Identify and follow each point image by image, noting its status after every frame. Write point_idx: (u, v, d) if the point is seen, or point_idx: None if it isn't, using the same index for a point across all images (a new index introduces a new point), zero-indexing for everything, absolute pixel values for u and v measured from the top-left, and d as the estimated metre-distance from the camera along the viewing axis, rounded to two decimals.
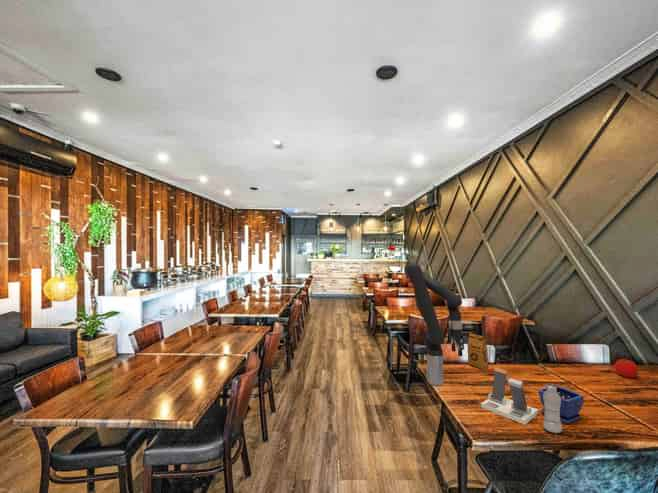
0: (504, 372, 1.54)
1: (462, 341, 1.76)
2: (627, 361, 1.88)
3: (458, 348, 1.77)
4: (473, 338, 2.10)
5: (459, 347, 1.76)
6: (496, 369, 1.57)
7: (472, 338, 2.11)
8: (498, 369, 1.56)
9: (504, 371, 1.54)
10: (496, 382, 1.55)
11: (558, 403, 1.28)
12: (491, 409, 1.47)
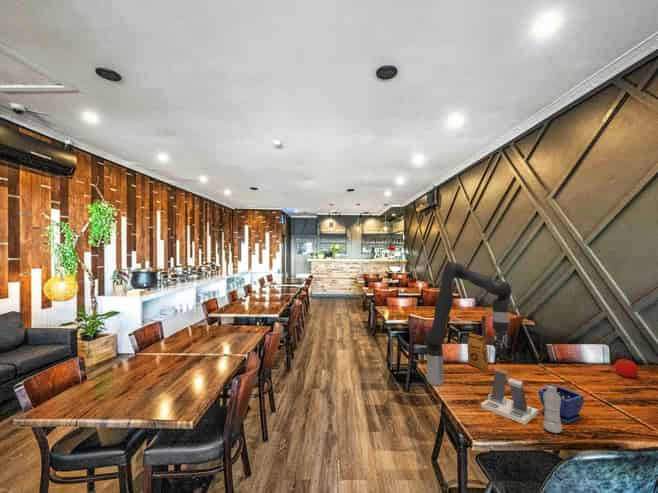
0: (504, 372, 1.54)
1: None
2: (627, 361, 1.88)
3: (506, 344, 1.53)
4: (473, 338, 2.10)
5: (507, 341, 1.54)
6: (496, 369, 1.57)
7: (472, 338, 2.11)
8: (498, 369, 1.56)
9: (504, 371, 1.54)
10: (496, 382, 1.55)
11: (558, 403, 1.28)
12: (491, 409, 1.47)
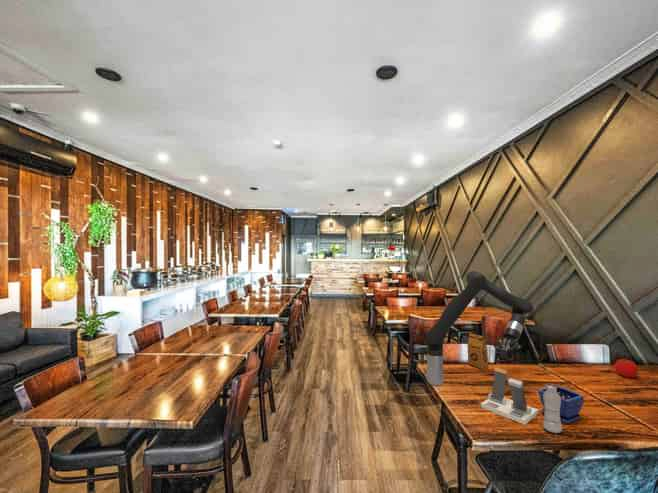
0: (504, 372, 1.54)
1: (497, 342, 1.68)
2: (627, 361, 1.88)
3: None
4: (473, 338, 2.10)
5: None
6: (496, 369, 1.57)
7: (472, 338, 2.11)
8: (498, 369, 1.56)
9: (504, 371, 1.54)
10: (496, 382, 1.55)
11: (558, 403, 1.28)
12: (491, 409, 1.47)
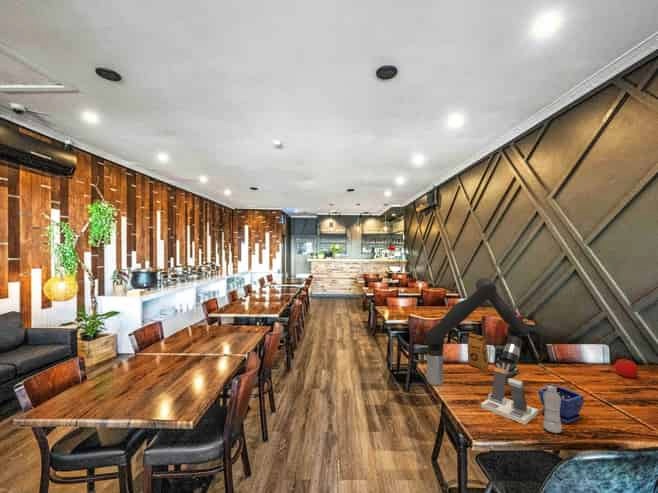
0: (504, 372, 1.54)
1: None
2: (627, 361, 1.88)
3: None
4: (473, 338, 2.10)
5: None
6: (496, 369, 1.57)
7: (472, 338, 2.11)
8: (498, 369, 1.56)
9: (504, 371, 1.54)
10: (496, 382, 1.55)
11: (558, 403, 1.28)
12: (491, 409, 1.47)
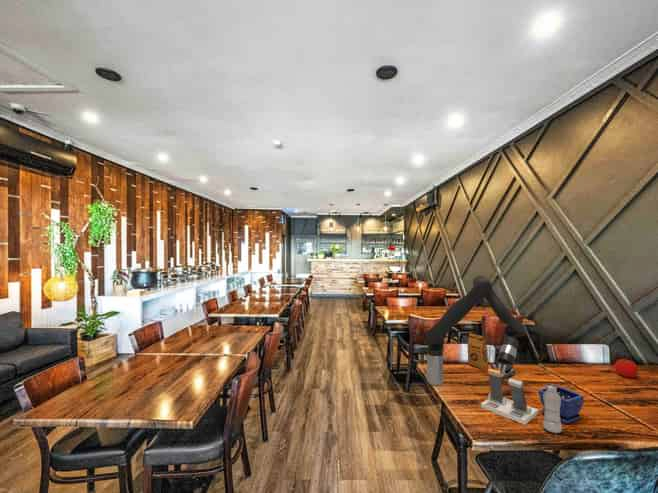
0: (498, 375, 1.49)
1: (491, 367, 1.61)
2: (627, 361, 1.88)
3: None
4: (473, 338, 2.10)
5: None
6: (489, 372, 1.53)
7: (472, 338, 2.11)
8: (491, 372, 1.52)
9: (497, 374, 1.49)
10: (492, 384, 1.53)
11: (558, 403, 1.28)
12: (491, 409, 1.47)
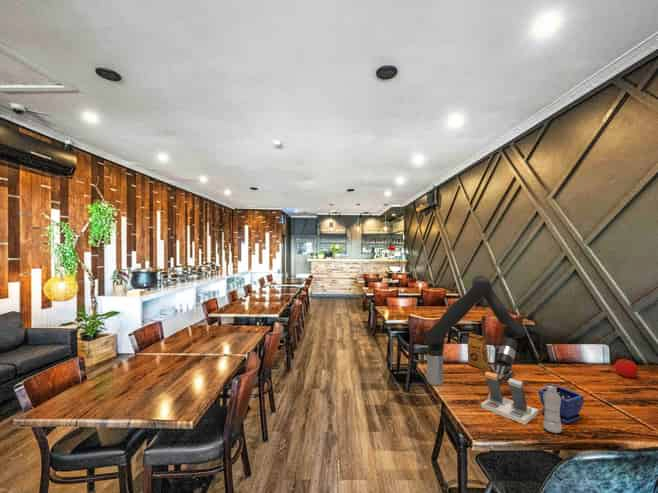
0: (495, 379, 1.48)
1: (489, 368, 1.60)
2: (627, 361, 1.88)
3: None
4: (473, 338, 2.10)
5: None
6: (486, 376, 1.51)
7: (472, 338, 2.11)
8: (488, 376, 1.50)
9: (495, 378, 1.48)
10: (491, 387, 1.52)
11: (558, 403, 1.28)
12: (491, 409, 1.47)
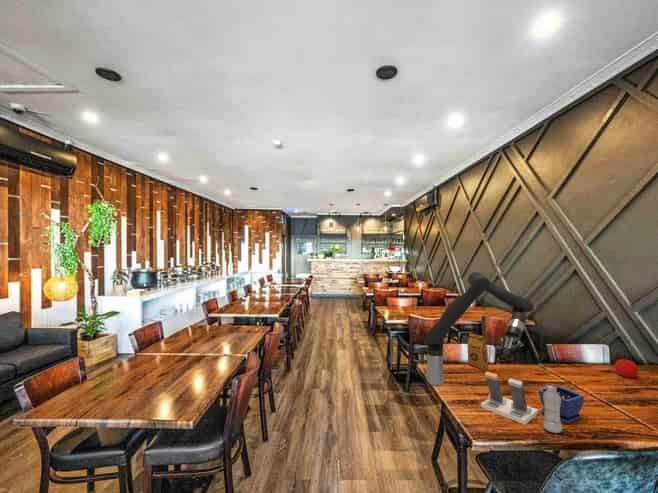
0: (495, 379, 1.48)
1: None
2: (627, 361, 1.88)
3: None
4: (473, 338, 2.10)
5: None
6: (486, 376, 1.51)
7: (472, 338, 2.11)
8: (488, 376, 1.50)
9: (494, 378, 1.48)
10: (491, 387, 1.52)
11: (558, 403, 1.28)
12: (491, 409, 1.47)
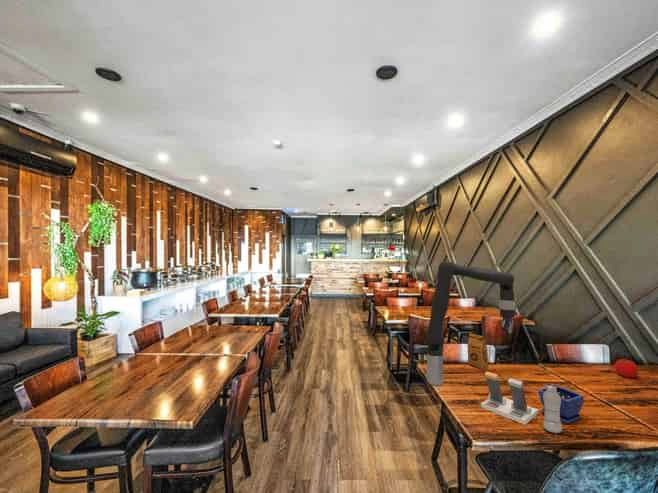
0: (495, 379, 1.48)
1: None
2: (627, 361, 1.88)
3: None
4: (473, 338, 2.10)
5: (512, 328, 1.66)
6: (486, 376, 1.51)
7: (472, 338, 2.11)
8: (488, 376, 1.50)
9: (494, 378, 1.48)
10: (491, 387, 1.52)
11: (558, 403, 1.28)
12: (491, 409, 1.47)
